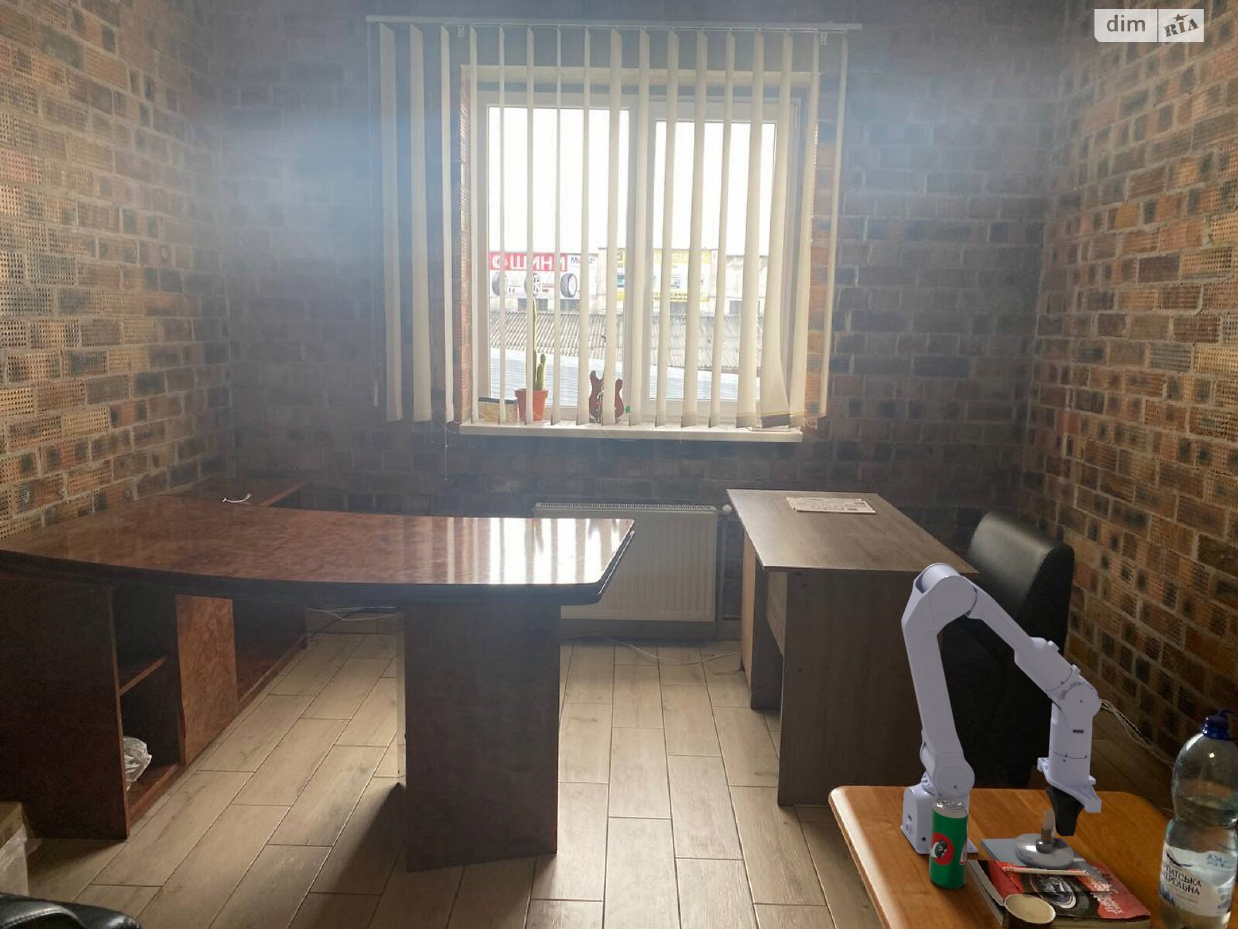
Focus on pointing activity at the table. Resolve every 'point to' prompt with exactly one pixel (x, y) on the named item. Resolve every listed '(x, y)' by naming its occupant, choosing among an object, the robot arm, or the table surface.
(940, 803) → the soda can
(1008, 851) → the stand plate
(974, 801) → the table surface
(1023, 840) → the cam
